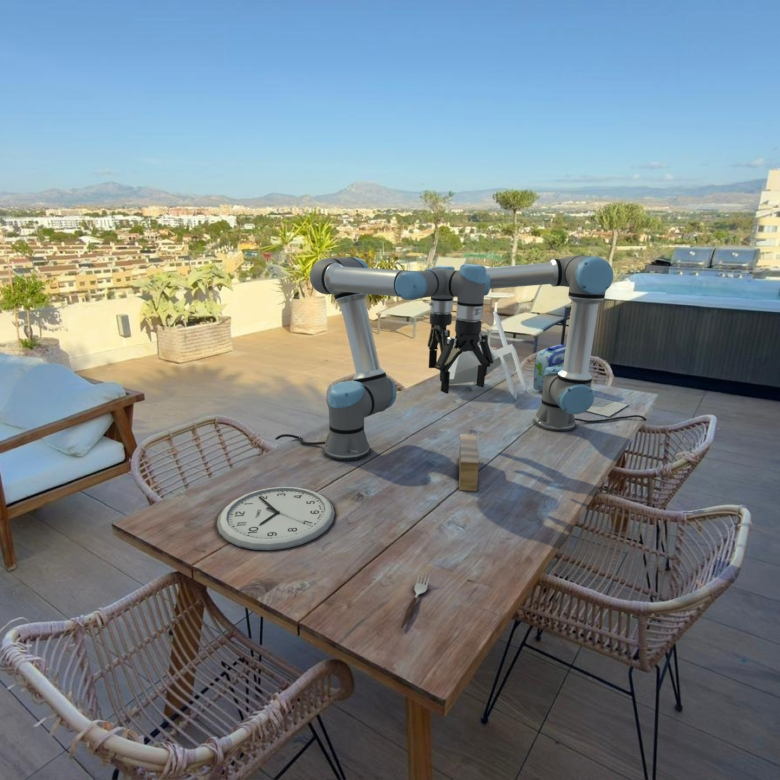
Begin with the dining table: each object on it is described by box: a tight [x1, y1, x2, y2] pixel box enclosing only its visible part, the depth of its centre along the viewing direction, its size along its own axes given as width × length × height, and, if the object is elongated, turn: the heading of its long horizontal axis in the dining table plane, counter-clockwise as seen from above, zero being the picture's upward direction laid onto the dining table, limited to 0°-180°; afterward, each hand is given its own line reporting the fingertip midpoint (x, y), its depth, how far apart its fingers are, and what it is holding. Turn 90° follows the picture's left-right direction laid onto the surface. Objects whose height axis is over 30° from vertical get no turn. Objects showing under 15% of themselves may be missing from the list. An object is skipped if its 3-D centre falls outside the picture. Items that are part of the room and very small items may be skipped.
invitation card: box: [585, 396, 629, 418], centre depth 226 cm, size 21×1×15 cm
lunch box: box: [533, 344, 566, 392], centre depth 247 cm, size 26×11×21 cm, turn 134°
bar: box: [458, 433, 480, 492], centre depth 161 cm, size 22×5×9 cm, turn 173°
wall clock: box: [216, 486, 336, 551], centre depth 136 cm, size 30×2×30 cm
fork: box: [400, 570, 431, 629], centre depth 106 cm, size 3×16×2 cm, turn 160°
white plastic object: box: [438, 310, 531, 400], centre depth 245 cm, size 37×45×31 cm
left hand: (462, 389), depth 158 cm, fingers open, 13 cm apart
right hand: (437, 372), depth 184 cm, fingers open, 13 cm apart
